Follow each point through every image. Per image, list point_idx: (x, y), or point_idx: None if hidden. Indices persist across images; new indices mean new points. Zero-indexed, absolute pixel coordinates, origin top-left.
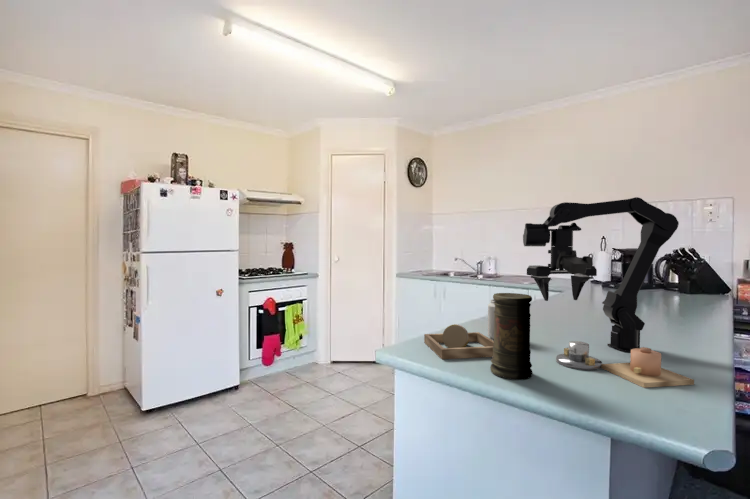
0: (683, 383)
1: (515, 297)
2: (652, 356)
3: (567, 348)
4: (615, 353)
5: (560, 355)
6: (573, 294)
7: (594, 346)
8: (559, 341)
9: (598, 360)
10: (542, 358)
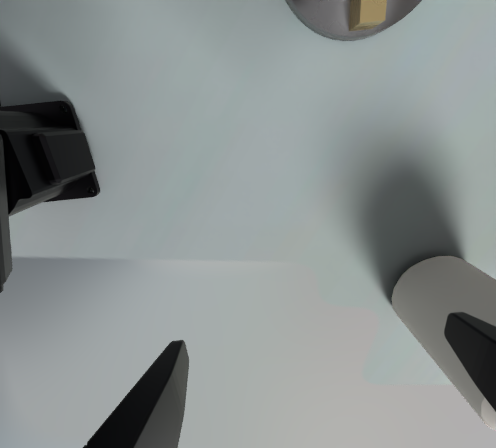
0: None
1: None
2: None
3: (371, 14)
4: (117, 89)
5: (402, 3)
6: (180, 408)
7: (153, 189)
8: (247, 253)
9: None
10: (452, 32)
